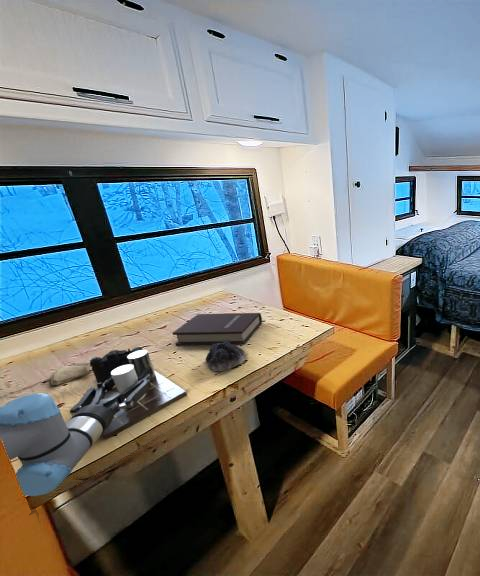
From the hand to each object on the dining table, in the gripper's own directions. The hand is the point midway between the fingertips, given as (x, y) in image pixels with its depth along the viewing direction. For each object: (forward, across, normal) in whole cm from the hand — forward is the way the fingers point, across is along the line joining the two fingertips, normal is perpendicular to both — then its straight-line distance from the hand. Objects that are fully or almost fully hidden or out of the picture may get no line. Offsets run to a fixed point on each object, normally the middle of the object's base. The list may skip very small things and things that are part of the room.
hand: (135, 372), depth 94 cm
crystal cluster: (+11, +23, -8) cm, 26 cm away
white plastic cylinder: (-5, 0, -6) cm, 8 cm away
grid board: (-5, 0, -7) cm, 9 cm away
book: (+35, +15, -8) cm, 39 cm away
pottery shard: (+16, -28, -8) cm, 34 cm away
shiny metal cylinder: (+4, 0, -6) cm, 7 cm away
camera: (+14, -11, -8) cm, 19 cm away
